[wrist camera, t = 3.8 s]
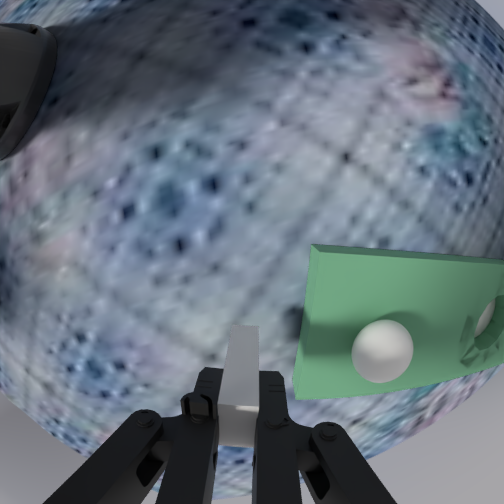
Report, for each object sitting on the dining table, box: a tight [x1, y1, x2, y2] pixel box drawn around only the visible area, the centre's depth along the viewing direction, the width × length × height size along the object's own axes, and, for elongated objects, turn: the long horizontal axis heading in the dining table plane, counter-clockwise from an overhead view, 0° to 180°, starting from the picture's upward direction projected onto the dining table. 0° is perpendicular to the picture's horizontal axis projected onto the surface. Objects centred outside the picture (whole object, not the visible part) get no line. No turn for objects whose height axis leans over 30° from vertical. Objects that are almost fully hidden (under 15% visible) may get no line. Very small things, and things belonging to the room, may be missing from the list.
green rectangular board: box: [292, 244, 504, 400], centre depth 18 cm, size 25×11×2 cm, turn 87°
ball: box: [351, 320, 413, 383], centre depth 14 cm, size 4×4×4 cm
